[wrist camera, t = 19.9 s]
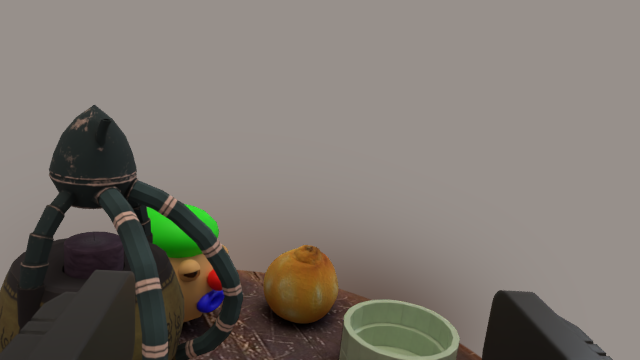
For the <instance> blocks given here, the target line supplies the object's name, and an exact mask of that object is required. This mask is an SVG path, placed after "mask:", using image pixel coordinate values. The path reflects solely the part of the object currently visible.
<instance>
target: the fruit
mask: <svg viewBox="0 0 640 360" xmlns="http://www.w3.org/2000/svg"><path fill="white" fill-rule="evenodd" d="M264 294H265V298H266V301H267V303H268V305H269V306H270V308H271V309H272V310H273V312H275V313H276V314H277V315H278V316H280V317H281V318H283V319H285V320H288V321H291V322H295V323H311V322H315V321H317V320H319V319H321V318H322V317H324V316H325V315H326V314H327V313H328V312H329V310H330V309H331V307H332V306H333V304H334V302H335V300H336V298H337V294H338V281H337V277H336V273H335V269H334V267H333V265H332V263H331V261H330V260H329V258H328V257H327V256H326V255H325V254H323V253H322V252H320V250H319V249H318V248H317V247H313V246H308V245H303V246H302V247H299V248H298V249H293V250H290V251H288V252H285V253H283V254H282V255H280V256H279V257H278V258H276V259H275V260H274V261H273V262H272V263H271V265H270V266H269V267H268V269H267V272H266V274H265V278H264Z"/></svg>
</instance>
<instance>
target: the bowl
mask: <svg viewBox="0 0 640 360" xmlns="http://www.w3.org/2000/svg"><path fill="white" fill-rule="evenodd" d="M459 342H460V338H459V336H458V333H457V331H456V328H455V327H454V326H453V325H452V324H451V323H450V322H449V321H448V320H447V319H445V318H444V317H442V316H440V315H439V314H437V313H436V312H434V311H432V310H429V309H426V308H424V307H422V306H419V305H415V304H411V303H408V302H403V301H395V300H370V301H366V302H361V303H358V304H356V305H355V306H353V307H351V308H350V309H349V310H348V311H347V313H346V314H345V315H344V320H343V327H342V335H341V343H340V351H339V359H338V360H456V358H457V352H458V347H459Z"/></svg>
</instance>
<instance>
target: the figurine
mask: <svg viewBox="0 0 640 360" xmlns="http://www.w3.org/2000/svg"><path fill="white" fill-rule="evenodd" d="M184 205H186V204H184ZM186 206H187V207H188V208H189V209H190V210H191V211H192V212H193V213H194V214H195V215H196V216H197V217H198V218H199V219H201V220H202V221H203V222H204V223H205V224H206V225H207V226H208V227H209V228H210V229H211V230H212V232H213V233H214V234H215V236H216V237H217V238H218V234H219V229H218V226H217V223H216V221H215V220H214V219H213V218H212V217H211V216H209V215H208V214H207V213H206V212H205V211H204V210H201V209H199V208H197V207H195V206H191V205H186ZM147 213H148V217H149V218H150V220H151V233H152V234H153V244H156V245H157V246H159V247H160V248H162V249H163V250H164V251H166V253H167V255H168V258H169V260H170V262H171V264H172V266H173V269H174V271H175V273H176V276H177V278H178V281H179V284H180V286H181V290H182V293H183V296H184V311H185V316H184V321H183V322H186V321H189V320H192V319H195V318H198V317H200V316H201V315H202V314H203V313H208V312H211V311H213V310H215V309H216V308H217V307H218V306H219V305H220V304H221V303H222V301H223V299H224V293H223V289H222V285H221V282H220V280H219V278H218V276H217V274H216V273H215V271H214V269H213V267H212V265H211V264H210V263H209V261H208V260H207V258H206V257H205V255H204V254H203V253H202V251H201V250H200V248H199V247H198V245H197V244H196V243H195V242H194V241H193V240H192V239H191V238H190V237H189V236H188V235H187V234H185V233H184V232H183V231H182V230H181V229H180V228H179V227H178V226H177V225H176V224H174V223H173V222H172V221H171V220H169V219H168V218H166V217H165V216H163V215H161V214H160V213H158V212H157V211H155V210H154V209H152V208H149V207H147ZM222 246H223V245H222ZM223 248H224V249H225V251H226V252H227V253H228V249H227V248H226V247H225V246H223Z"/></svg>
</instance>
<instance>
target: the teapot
mask: <svg viewBox="0 0 640 360" xmlns="http://www.w3.org/2000/svg"><path fill="white" fill-rule="evenodd" d="M49 171H50V173H49V176H50V178H51V180H52V181H53V183H54V185H55V186H56V188H57V190H58V191H59V194H58V196H57V197H56V198H55V199H54V201H53V202H52V203H51V204H50V205H47V206H46V208H45V210H44V212H43V214H42V216H41V218H40V220H39V222H38V224H37V226H36V228H35V230H34V232H33V233H31V234H30V236H29V240H28V245H27V250H26V252H24V253H23V254H21V255H20V256H19V257H18V258H17V259H16V260H15V261H14V262H13V263H12V265H11V267H10V269H9V271H8V273H7V275H6V278H5V280H4V283H3V285H2V287H1V290H0V353H1V352H2V351H3V350H4V349H5V347H6V346H7V345H8V344H9V343H10V342H11V341H12V339H13V338H14V337H15V336H16V335H17V334H20V330H21V329H22V328H23V327H24V326H25V325H26V324H27V322H28V321H31V318H32V317H33V316H34V314H35V313H36V312H37V311H38V310H39V309H40V308H41V307H42V305H43V304H44V303H46V302H48V301H50V300H52V299H53V298H55V297H57V296H59V295H61V294H62V293H64V292H78V291H79V290H80V289H81V287H82V286H83V285H84V284H85V282H86V281H87V280H88V278H89V277H90V276H91V275H92V273H93V272H94V271H95V270H111V271H131V272H133V273H134V276H135V345H134V352H133V358H132V360H188V359H191V358H193V357H196V356H199V355H201V354H204V353H207V352H210V351H212V350H214V349H215V348H216V347H217V346H219V345H220V344H221V343H222V342H223V341H224V340H225V339H226V338H227V337H228V336H229V334H230V332H231V331H232V329H233V327H234V325H235V323H236V322H237V320H238V318H239V314H240V310H241V305H242V301H243V294H242V289H241V284H240V279H239V275H238V272H237V270H236V269H235V267H234V265H233V263H232V261H231V259H230V257H229V255H228V253H227V252H226V251H225V249H224V248H223V246H222V245H221V243H220V242H219V240H218V239H217V237H216V236H215V234H214V233H213V232H212V230H211V229H210V228H209V227H208V226H207V225H206V224H205V223H204V222H203V221H202V220H201V219H199V218H198V217H197V216H196V215H195V214H194V213H193V212H192V211H191V210H190V209H189V208H188V207H187V206H186V205H184V204H183V203H181V202H180V201H178V200H177V199H175V198H173V197H172V196H170V195H169V194H167V193H166V192H164V191H162V190H160V189H157V188H155V187H153V186H150V185H148V184H146V183H143V182H141V181H138V179H137V178H136V172H137V171H136V165H135V161H134V157H133V153H132V151H131V148H130V146H129V143H128V141H127V139H126V136H125V135H124V133H123V132H122V131H121V130H120V128H119V127H118V126H117V124H116V123H115V122H114V120H113V119H112V118H110V117H109V116H108V115H107V114H105V113H104V112H103V111H101V110H100V109H99V108H98V107H97V106H95V105H93V106H92V107H90V108H89V109H88V110H86V111H85V112H83V113H82V114H80V115H79V116H78V117H76V118H75V119H74V121H73V122H72V123H71V124H70V125H69V126H68V128H67V129H66V130H65V131H64V132H63V134H62V135H61V138H60V140H59V142H58V145H57V147H56V149H55V151H54V153H53V157H52V161H51V165H50V168H49ZM71 206H73V207H77V208H83V209H101V208H103V209H104V210H105V212H106V213H107V214H108V216H109V217H110V218H111V220H112V222H113V224H114V226H115V228H116V230H117V232H118V234H119V235H116V234H113V233H108V232H86V233H81V234H77V235H74V236H71V237H69V238H67V239H60V240H56V241H53V240H54V239H53V235H54V234H55V232H56V230H57V228H58V227H59V225H60V223H61V221H62V220H63V218H64V214H65V212H66V211H67V210H68V209H69V208H70V207H71ZM146 206H147V207H149V208H152V209H154V210H155V211H157V212H158V213H160V214H161V215H163V216H165V217H166V218H168V219H169V220H171V221H172V222H173V223H174V224H176V225H177V226H178V227H179V228H180V229H181V230H182V231H183V232H184V233H185V234H187V235H188V236H189V237H190V238H191V239H192V240H193V241H194V242H195V243H196V244H197V245H198V247H199V248H200V250H201V251H202V253H203V254H204V255H205V257H206V258H207V260H208V261H209V263H210V264H211V265H212V267H213V269H214V271H215V273H216V274H217V276H218V278H219V280H220V282H221V285H222V289H223V293H224V300H223V305H222V310H221V312H220V314H219V316H218V317H217V319H216V321H215V323H214V325H213V326H212V327H211V328H210V329H209V330H208V331H207V332H206V333H205V334H204V335H202V336H200V337H198V338H195V339H193V340H190V341H188V342H185V343H183V344H180V343H179V339H180V334H181V330H182V325H183V321H184V316H185V311H184V296H183V293H182V290H181V286H180V284H179V281H178V278H177V276H176V273H175V271H174V269H173V266H172V264H171V262H170V260H169V258H168V255H167V253H166V251H164V250H163V249H162V248H160V247H159V246H157V245H156V244H153V234H152V233H151V220H150V218H149V217H148V213H147V208H146Z"/></svg>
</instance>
